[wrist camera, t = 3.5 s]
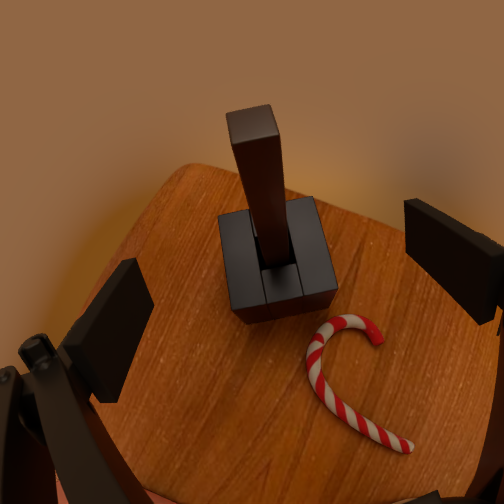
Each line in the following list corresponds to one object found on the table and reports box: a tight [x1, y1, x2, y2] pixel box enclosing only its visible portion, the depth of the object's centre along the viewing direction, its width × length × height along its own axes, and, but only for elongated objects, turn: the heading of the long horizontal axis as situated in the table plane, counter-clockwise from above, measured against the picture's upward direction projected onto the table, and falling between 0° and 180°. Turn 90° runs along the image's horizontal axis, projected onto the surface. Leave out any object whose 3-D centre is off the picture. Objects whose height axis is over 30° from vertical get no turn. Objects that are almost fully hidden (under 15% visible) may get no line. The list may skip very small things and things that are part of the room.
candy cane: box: [306, 314, 415, 454], centre depth 24 cm, size 8×1×15 cm
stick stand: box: [218, 196, 338, 325], centre depth 27 cm, size 8×8×7 cm
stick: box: [226, 104, 290, 269], centre depth 21 cm, size 2×2×20 cm
